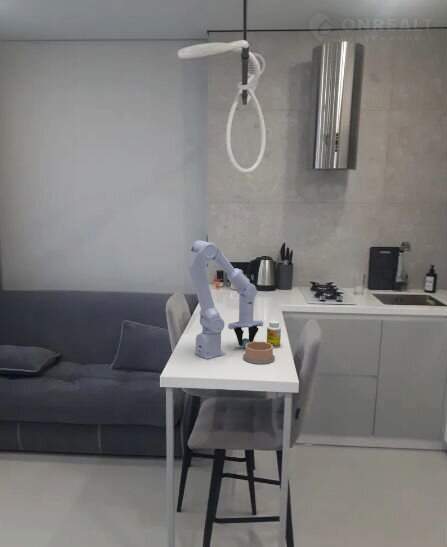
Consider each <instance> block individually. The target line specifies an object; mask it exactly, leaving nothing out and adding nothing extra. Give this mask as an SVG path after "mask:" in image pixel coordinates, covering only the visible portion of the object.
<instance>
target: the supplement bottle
mask: <svg viewBox="0 0 447 547" xmlns="http://www.w3.org/2000/svg"><path fill="white" fill-rule="evenodd" d="M281 328H282V327H281V325H280V321H278V320H270V321H269V323H268V325H267V329H266V342H267V343H269V344H272V345H273V349H274V348H275V349H276V348H279V347H280V345H281V336H282V335H281V334H282V333H281V332H282V329H281Z"/></svg>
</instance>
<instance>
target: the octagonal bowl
mask: <svg viewBox="0 0 447 547" xmlns="http://www.w3.org/2000/svg"><path fill="white" fill-rule="evenodd" d="M244 349H245V351H244V352H245V353H244V354H243V355H242V360H243V361H245V363H249V364H253V365H268V364H271V363H274V362H275V360H276V356H275V355H274V351H273V350H274V348H273V345H272V344H269V343H267V341H255V340H253V342H250V343H246V347H245V348H244Z"/></svg>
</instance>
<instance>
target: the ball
mask: <svg viewBox="0 0 447 547" xmlns="http://www.w3.org/2000/svg"><path fill="white" fill-rule="evenodd" d="M246 343H250V340H249V338H247V337H245V338H242V346H241V347H242V348H243V349H245V347H246Z"/></svg>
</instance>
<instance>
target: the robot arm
mask: <svg viewBox="0 0 447 547" xmlns="http://www.w3.org/2000/svg"><path fill="white" fill-rule="evenodd" d="M189 253H190V254H189V261H188V270H189V274H190V277H191V281H192V284H193V287H194V291H195V293H196V297H197V301H198V304H199V307H200V311H199V323H200V325H201V327H202V329H201V330H202V332H200V333H199V334H197V335H196V337H195V351H194V354H195V355H198V356H199V357H202V358H203V359H205V360H209V359H213V358H216V357H219V356H224V355H226V352H225V351H222V349H221V348H222V346H221V345H222V331H223V330H224V328H225V321H224V319H223V318H222V317H221V315H220V312H219V311H218V309H217V308H216V306H215V303H214V300H213V296H212V292H211V289H210V285H209V282H208V279H207V276H206V273H205V268H206V266H207V265H209V263H210V262H212V261H214V262H216V264H217V265H219V267H220V268H221V269H222V270H223V271H224V273H226V275H227V277H226V278H227V280H228V282H230V284H232V285H233V287H234V288H235V289H236V293H237V294H239V300H238V301H239V304H238V305H239V306H238V307H239V308H238V309H239V310H238V321H235V322H231V323H228V324H227V328H228V329H229V330H233V331H234V333H235V336H236V339H237V344H238V346H240V347H242V339H243V337H244V330H243V329H246V328H247V329H248V339H249V340H250V342H254V341H255V337H256V335H257V333H258V332H259V327H264V321H262V320H254V312H255V311H254V306H255V304H254V303H255V302H254V301H255V297H256V295H257V293H258V289H257V286H255V284H254V283H251V282H250V279H249V278H248V277H246V275H245V274H244V271H243V270H242V269H241V268H240V269H239V268H234V266H233V265H232V263H230V261H229V259H228V258H226V255H224V254H223V252H222V250H221V248H219V247H217V245H216V244H215V242H211V241H209V242H208V241H205V240H202V239H198V240H195V241H194V242H193V243H192V245H191V246H190V248H189Z"/></svg>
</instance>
